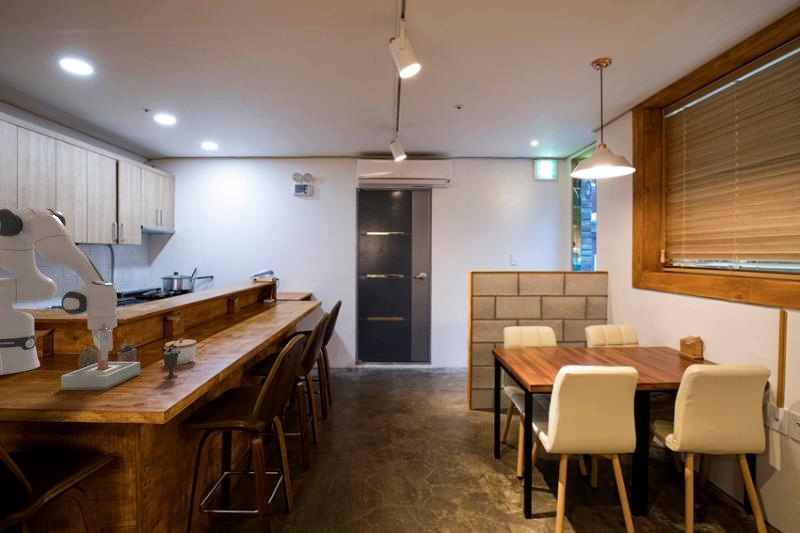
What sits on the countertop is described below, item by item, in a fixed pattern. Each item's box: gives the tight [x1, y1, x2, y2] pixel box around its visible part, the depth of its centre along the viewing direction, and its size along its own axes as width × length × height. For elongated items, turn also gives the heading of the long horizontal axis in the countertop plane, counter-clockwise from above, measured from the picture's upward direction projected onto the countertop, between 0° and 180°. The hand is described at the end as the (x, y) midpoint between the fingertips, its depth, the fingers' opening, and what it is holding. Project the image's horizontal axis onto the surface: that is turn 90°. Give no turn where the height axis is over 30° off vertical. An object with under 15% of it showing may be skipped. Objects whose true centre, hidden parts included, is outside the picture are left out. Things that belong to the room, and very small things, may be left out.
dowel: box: [96, 347, 109, 370], centre depth 140 cm, size 3×3×10 cm
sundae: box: [160, 339, 180, 380], centre depth 146 cm, size 7×7×15 cm
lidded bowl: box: [164, 337, 198, 365], centre depth 167 cm, size 13×13×11 cm
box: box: [60, 361, 141, 391], centre depth 141 cm, size 16×18×5 cm
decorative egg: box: [77, 346, 98, 369], centre depth 153 cm, size 7×7×10 cm
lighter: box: [116, 343, 137, 362], centre depth 158 cm, size 8×3×10 cm, turn 168°
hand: (102, 358), depth 141 cm, fingers closed on dowel, 3 cm apart
